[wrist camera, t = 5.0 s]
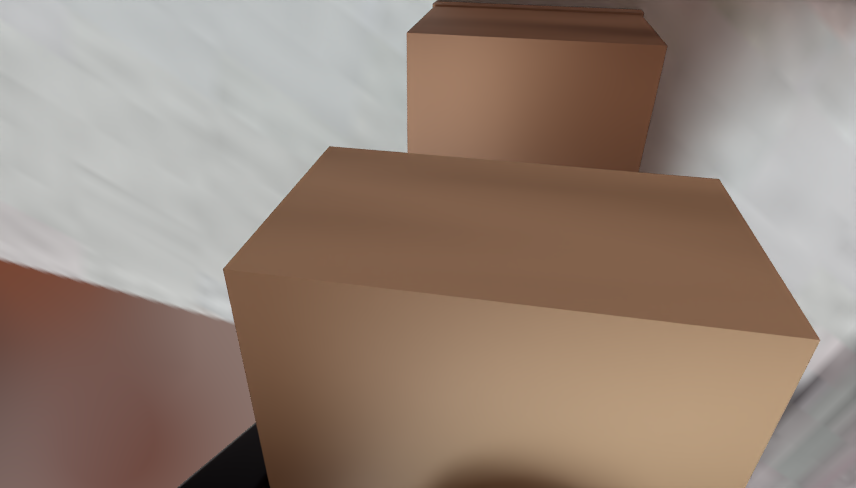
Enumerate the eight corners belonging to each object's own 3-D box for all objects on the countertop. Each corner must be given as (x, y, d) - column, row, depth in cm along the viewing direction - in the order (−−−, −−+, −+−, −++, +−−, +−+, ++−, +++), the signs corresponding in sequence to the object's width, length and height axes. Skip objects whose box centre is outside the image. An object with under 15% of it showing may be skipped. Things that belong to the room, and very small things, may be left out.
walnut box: (436, 1, 15) (404, 30, 12) (640, 9, 14) (670, 43, 11) (430, 278, 20) (407, 355, 16) (583, 295, 19) (592, 380, 16)
